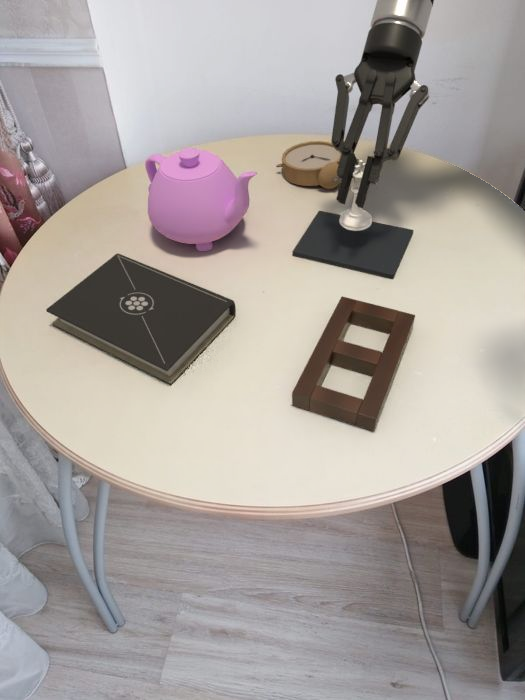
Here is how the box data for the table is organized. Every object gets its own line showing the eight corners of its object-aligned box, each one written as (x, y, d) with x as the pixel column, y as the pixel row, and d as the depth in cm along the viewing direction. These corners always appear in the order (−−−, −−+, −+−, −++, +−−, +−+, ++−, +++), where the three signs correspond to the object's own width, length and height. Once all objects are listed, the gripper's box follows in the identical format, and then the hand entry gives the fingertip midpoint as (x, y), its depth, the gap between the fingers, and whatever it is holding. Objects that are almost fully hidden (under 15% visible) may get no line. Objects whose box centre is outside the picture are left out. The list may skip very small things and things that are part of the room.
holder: (412, 328, 76) (415, 314, 74) (374, 432, 65) (376, 419, 63) (340, 309, 79) (341, 296, 77) (292, 405, 68) (291, 392, 66)
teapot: (286, 225, 93) (284, 147, 83) (232, 278, 85) (223, 198, 75) (182, 191, 102) (169, 116, 92) (124, 235, 93) (103, 159, 83)
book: (237, 315, 79) (235, 299, 77) (171, 385, 71) (167, 370, 69) (123, 267, 88) (118, 251, 86) (52, 325, 80) (45, 309, 77)
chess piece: (378, 224, 85) (386, 163, 78) (351, 234, 84) (356, 173, 76) (358, 208, 88) (364, 148, 81) (332, 218, 87) (336, 158, 79)
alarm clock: (301, 137, 108) (372, 142, 100) (304, 161, 111) (373, 168, 103) (268, 162, 102) (341, 170, 94) (273, 188, 105) (344, 197, 97)
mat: (412, 234, 90) (413, 229, 90) (393, 279, 83) (393, 275, 82) (318, 214, 95) (319, 210, 94) (292, 255, 88) (292, 251, 87)
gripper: (451, 54, 79) (404, 219, 81) (348, 43, 83) (306, 200, 85) (451, 25, 71) (400, 207, 74) (338, 14, 76) (293, 186, 78)
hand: (350, 203), depth 79 cm, fingers closed on chess piece, 2 cm apart
